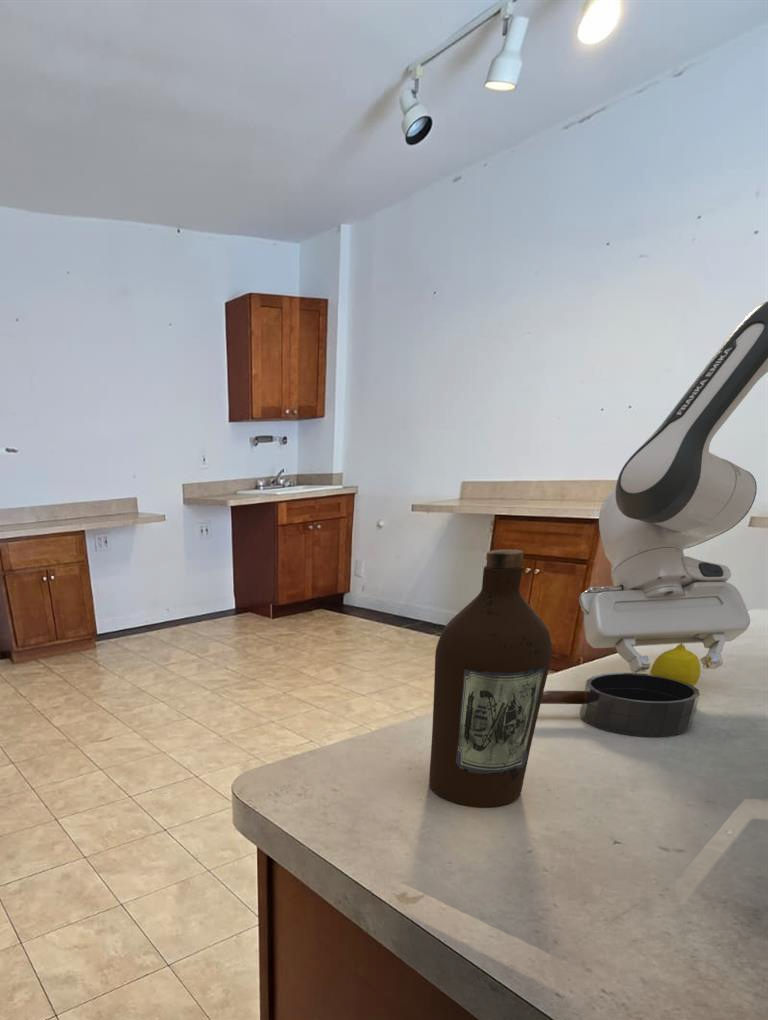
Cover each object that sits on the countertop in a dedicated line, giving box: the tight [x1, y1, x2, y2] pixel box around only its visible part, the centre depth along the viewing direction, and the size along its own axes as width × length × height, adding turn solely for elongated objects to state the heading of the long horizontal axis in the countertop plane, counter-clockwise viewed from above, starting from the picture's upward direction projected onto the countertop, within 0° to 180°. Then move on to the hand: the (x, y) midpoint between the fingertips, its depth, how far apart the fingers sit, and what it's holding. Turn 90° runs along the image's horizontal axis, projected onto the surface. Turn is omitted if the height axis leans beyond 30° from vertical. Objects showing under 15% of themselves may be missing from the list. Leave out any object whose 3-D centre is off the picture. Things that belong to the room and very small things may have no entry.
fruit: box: [649, 644, 701, 687], centre depth 88 cm, size 6×6×8 cm
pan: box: [579, 672, 701, 738], centre depth 83 cm, size 12×12×4 cm
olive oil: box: [428, 548, 553, 808], centre depth 65 cm, size 11×11×25 cm
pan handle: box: [540, 689, 588, 705], centre depth 86 cm, size 11×2×2 cm, turn 77°
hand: (677, 669), depth 87 cm, fingers open, 8 cm apart
